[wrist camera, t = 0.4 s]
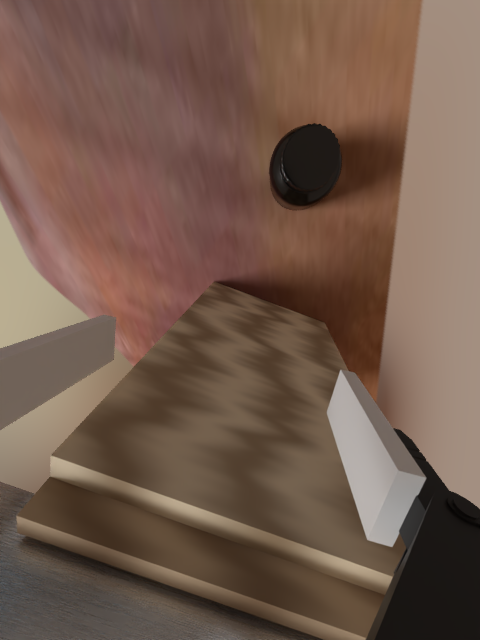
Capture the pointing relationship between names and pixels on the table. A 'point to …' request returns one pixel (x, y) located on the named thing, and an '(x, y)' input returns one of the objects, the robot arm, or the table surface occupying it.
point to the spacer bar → (103, 597)
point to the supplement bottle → (305, 166)
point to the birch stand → (224, 473)
